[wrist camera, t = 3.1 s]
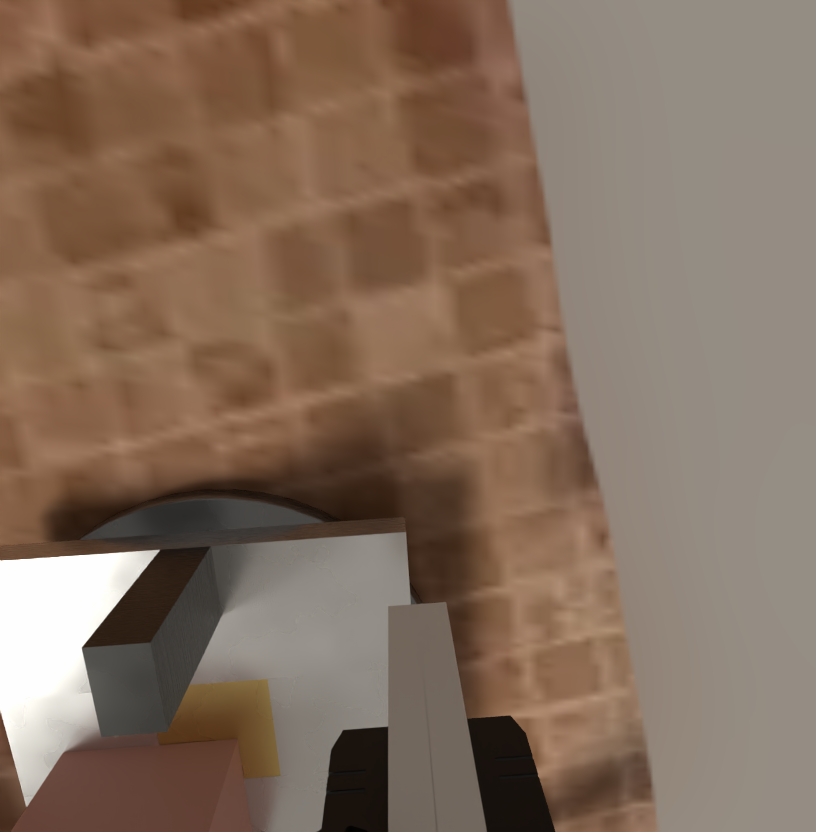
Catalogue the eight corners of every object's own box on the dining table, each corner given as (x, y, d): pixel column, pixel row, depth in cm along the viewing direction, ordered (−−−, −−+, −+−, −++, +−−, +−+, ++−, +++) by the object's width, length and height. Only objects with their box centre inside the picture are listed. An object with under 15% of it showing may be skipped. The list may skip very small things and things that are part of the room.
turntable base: (-26, 505, 21) (-46, 517, 20) (429, 474, 21) (432, 483, 20) (66, 864, 25) (53, 888, 24) (449, 831, 25) (451, 854, 24)
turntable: (-14, 546, 20) (-189, 668, 14) (404, 517, 20) (413, 622, 14) (69, 874, 23) (-42, 1087, 17) (426, 844, 23) (440, 1042, 17)
